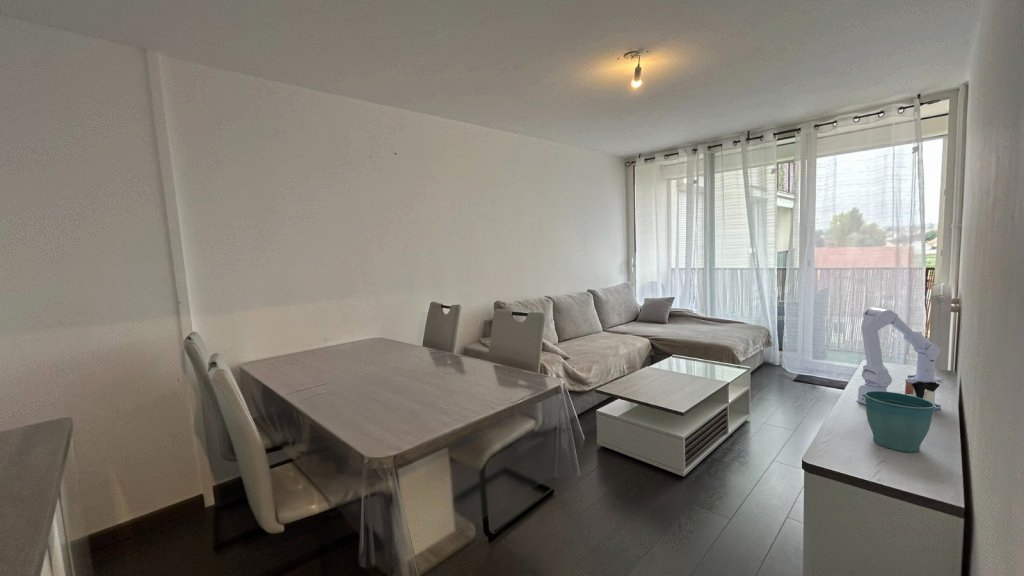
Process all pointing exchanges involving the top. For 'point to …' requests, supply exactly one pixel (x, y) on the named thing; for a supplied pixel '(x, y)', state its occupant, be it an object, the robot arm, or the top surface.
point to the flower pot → (898, 419)
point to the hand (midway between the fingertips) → (923, 398)
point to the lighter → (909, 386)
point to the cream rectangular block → (927, 395)
